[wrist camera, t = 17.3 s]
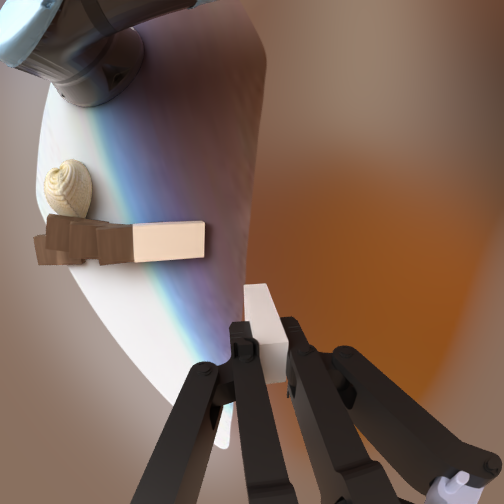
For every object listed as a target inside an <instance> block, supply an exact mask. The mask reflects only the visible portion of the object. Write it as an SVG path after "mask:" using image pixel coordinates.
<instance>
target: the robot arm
mask: <svg viewBox="0 0 504 504" xmlns="http://www.w3.org/2000/svg"><path fill="white" fill-rule="evenodd" d="M214 1H218V0H7V1H6V2H5V4H4V6H3V7H2V9H1V10H0V61H2V62H4V63H6V65H7V66H8V67H11V68H12V67H13V68H16V69H18V70H21V71H24V72H27V73H30V74H33V75H35V76H38V77H40V78H43V79H46V80H48V81H50V82H52V83H53V85H54V86H55V88H56V89H57V91H58V93H59V94H60V96H61V97H62V98H63V99H65V100H66V101H67V102H69V103H72V104H74V105H77V106H81V107H92V106H97V105H100V104H103V103H105V102H107V101H109V100H111V99H112V98H114V97H115V96H117V95H118V94H119V93H121V92H122V91H123V90H124V89H125V88H126V87H127V86H128V85H129V84H130V83H131V81H132V80H133V79H134V77H135V76H136V74H137V72H138V71H139V69H140V66H141V64H142V60H143V56H144V45H143V41H142V39H141V37H140V36H139V34H138V32H137V31H136V30H135V29H134V28H133V26H135V25H138V24H140V23H143V22H146V21H148V20H151V19H154V18H157V17H160V16H163V15H166V14H169V13H172V12H176V11H179V10H183V9H193V8H195V7H197V6H198V5H202V4H205V3H209V2H214ZM244 306H245V321H241V322H232V324H231V325H230V327H229V331H230V344H231V358H230V359H229V360H228V361H227V362H226V363H224V364H222V365H219V366H217V365H215V364H214V363H211V362H199V363H196V364H195V365H193V366H192V368H191V369H190V371H189V373H188V376H187V378H186V380H185V382H184V384H183V387H182V389H181V391H180V393H179V395H178V398H177V400H176V402H175V404H174V406H173V409H172V411H171V413H170V415H169V418H168V420H167V422H166V424H165V426H164V429H163V431H162V433H161V435H160V437H159V440H158V442H157V444H156V446H155V449H154V451H153V453H152V456H151V458H150V460H149V462H148V464H147V467H146V469H145V471H144V474H143V476H142V478H141V480H140V483H139V485H138V487H137V489H136V492H135V494H134V496H133V499H132V501H131V503H130V504H196V502H197V499H198V495H199V492H200V488H201V485H202V481H203V478H204V475H205V471H206V467H207V464H208V461H209V457H210V453H211V450H212V446H213V443H214V439H215V436H216V432H217V428H218V425H219V421H220V418H221V414H222V410H223V405H225V404H228V403H231V402H234V401H236V407H237V416H238V424H239V433H240V442H241V450H242V458H243V465H244V473H245V480H246V486H247V494H248V501H249V504H298V500H297V497H296V493H295V490H294V487H293V485H292V484H291V483H290V481H289V478H288V474H287V470H286V466H285V462H284V458H283V454H282V450H281V446H280V442H279V438H278V434H277V429H276V425H275V421H274V417H273V413H272V408H271V404H270V400H269V396H268V391H267V387H266V384H271V383H279V382H286V376H287V379H288V388H287V398H289V394H290V397H291V401H292V404H293V407H294V410H295V413H296V417H297V420H298V423H299V426H300V429H301V433H302V436H303V439H304V442H305V446H306V449H307V452H308V455H309V458H310V462H311V465H312V468H313V471H314V474H315V477H316V480H317V484H318V487H319V490H320V494H321V504H414V503H411V502H409V501H406V500H404V499H401V498H399V497H397V495H396V493H395V491H394V489H393V487H392V484H391V483H390V480H389V478H388V476H387V474H386V472H385V470H384V469H383V467H382V465H381V464H380V463H379V462H378V461H373V460H371V459H370V457H369V455H368V453H367V451H366V449H365V447H364V445H363V442H362V440H361V438H360V437H359V434H358V432H357V430H356V428H355V426H356V427H357V428H358V429H359V430H360V432H361V433H362V434H363V435H364V436H365V437H366V438H367V440H368V441H369V442H370V443H371V444H372V445H373V446H374V447H375V448H376V450H377V451H378V452H379V453H380V454H381V455H382V456H383V457H384V458H385V459H386V460H387V462H388V463H389V464H390V465H391V466H392V467H393V468H394V469H395V470H396V471H397V472H398V473H399V474H400V475H401V477H402V478H403V479H404V480H405V481H406V482H407V483H408V484H409V485H410V486H412V487H413V488H414V489H415V490H417V491H418V492H420V493H421V494H423V495H425V496H426V500H425V504H477V502H478V500H479V498H480V495H481V493H482V490H483V488H484V487H485V486H486V485H487V484H488V483H489V482H491V481H492V480H493V479H494V478H495V477H497V476H498V475H499V473H500V471H501V469H502V461H501V459H500V457H499V456H498V455H496V454H494V453H492V452H489V451H486V450H483V449H480V448H478V447H475V446H472V445H469V444H467V443H464V442H462V441H461V440H459V439H458V438H457V437H456V436H455V435H453V434H452V433H451V432H450V431H449V430H448V429H447V428H446V427H444V426H443V425H442V424H441V423H440V422H439V421H437V420H436V419H435V418H434V417H433V416H432V415H431V414H429V413H428V412H427V411H426V410H425V409H424V408H422V407H421V406H420V405H419V404H418V403H417V402H415V401H414V400H413V399H412V398H411V397H410V396H409V395H407V394H406V393H405V392H404V391H403V390H401V388H400V387H398V386H397V385H396V384H395V383H394V382H393V381H391V380H390V379H389V378H388V377H387V376H386V375H384V374H383V373H382V372H381V371H380V370H379V369H378V368H377V367H375V366H374V365H373V364H372V363H371V362H370V361H369V360H367V359H366V358H365V357H364V356H363V355H362V354H361V353H359V352H358V351H357V350H356V349H354V348H353V347H350V346H338V347H337V348H335V349H334V350H333V353H322V352H318V351H317V349H316V348H315V347H314V346H312V345H310V344H309V343H308V341H307V339H306V337H305V335H304V333H303V331H302V329H301V327H300V325H299V323H298V321H297V320H296V319H295V318H293V317H281V318H279V316H278V313H277V311H276V308H275V305H274V303H273V300H272V298H271V295H270V292H269V290H268V287H267V285H266V284H251V285H244ZM354 425H355V426H354Z"/></svg>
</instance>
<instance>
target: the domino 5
mask: <svg viewBox="0 0 504 504" xmlns="http://www.w3.org/2000/svg"><path fill="white" fill-rule="evenodd" d="M204 237H205V223H204V222H203V221H181V222H158V223H139V224H133V247H134V261H135V263H136V262H149V261H162V260H175V259H187V258H200V257H204Z"/></svg>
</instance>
